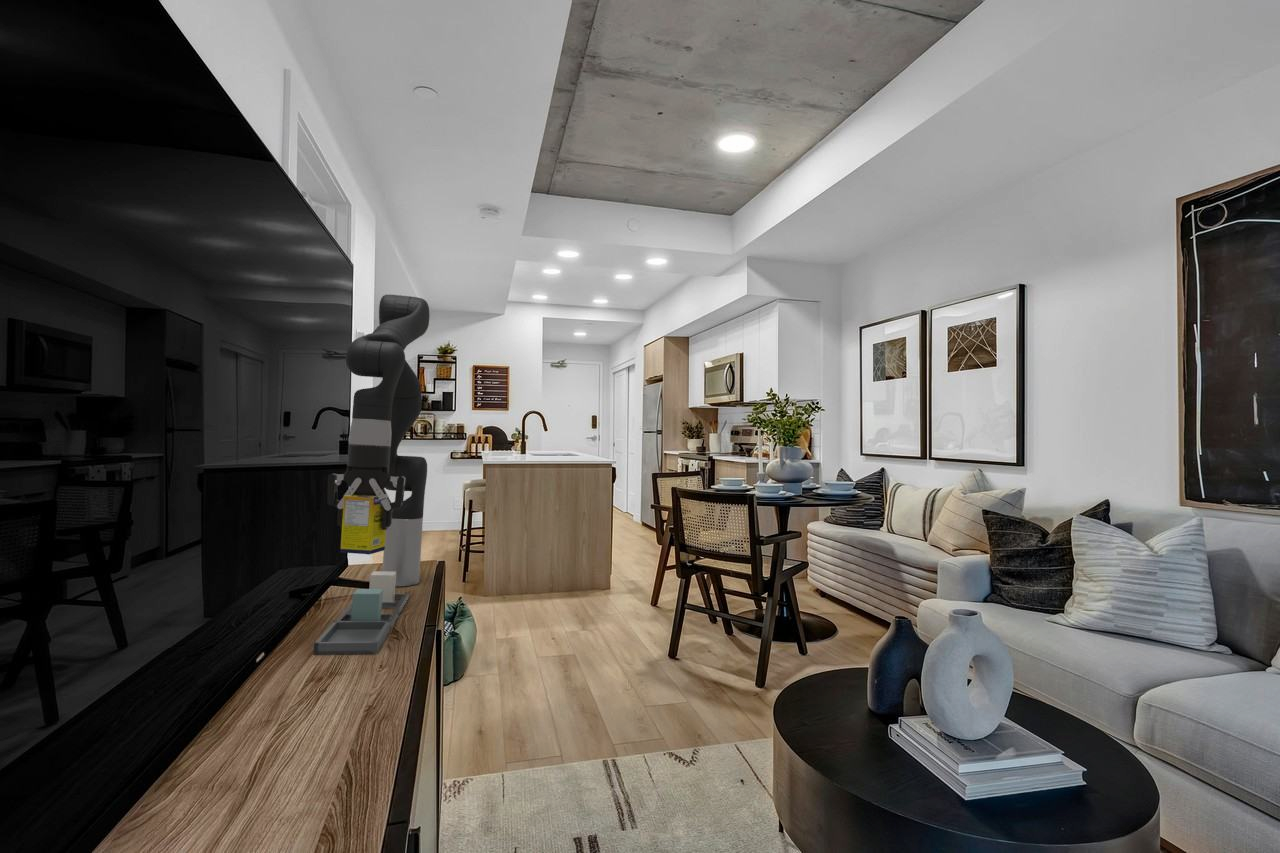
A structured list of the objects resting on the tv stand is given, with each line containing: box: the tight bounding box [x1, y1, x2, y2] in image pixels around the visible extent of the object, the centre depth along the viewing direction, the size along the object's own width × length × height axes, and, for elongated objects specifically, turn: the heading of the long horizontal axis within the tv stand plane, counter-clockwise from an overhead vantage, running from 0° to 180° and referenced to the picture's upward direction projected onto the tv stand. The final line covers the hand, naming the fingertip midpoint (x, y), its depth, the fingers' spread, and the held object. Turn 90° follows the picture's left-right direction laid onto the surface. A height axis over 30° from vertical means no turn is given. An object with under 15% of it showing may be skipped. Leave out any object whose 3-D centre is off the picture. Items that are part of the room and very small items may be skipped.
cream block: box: [368, 570, 397, 602], centre depth 147 cm, size 4×5×7 cm
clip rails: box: [335, 592, 410, 631], centre depth 138 cm, size 25×11×2 cm, turn 12°
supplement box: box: [340, 494, 386, 555], centre depth 123 cm, size 6×6×11 cm
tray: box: [312, 620, 391, 656], centre depth 120 cm, size 14×10×2 cm
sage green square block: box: [351, 588, 383, 621], centre depth 130 cm, size 4×5×7 cm
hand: (364, 528), depth 123 cm, fingers closed on supplement box, 7 cm apart
